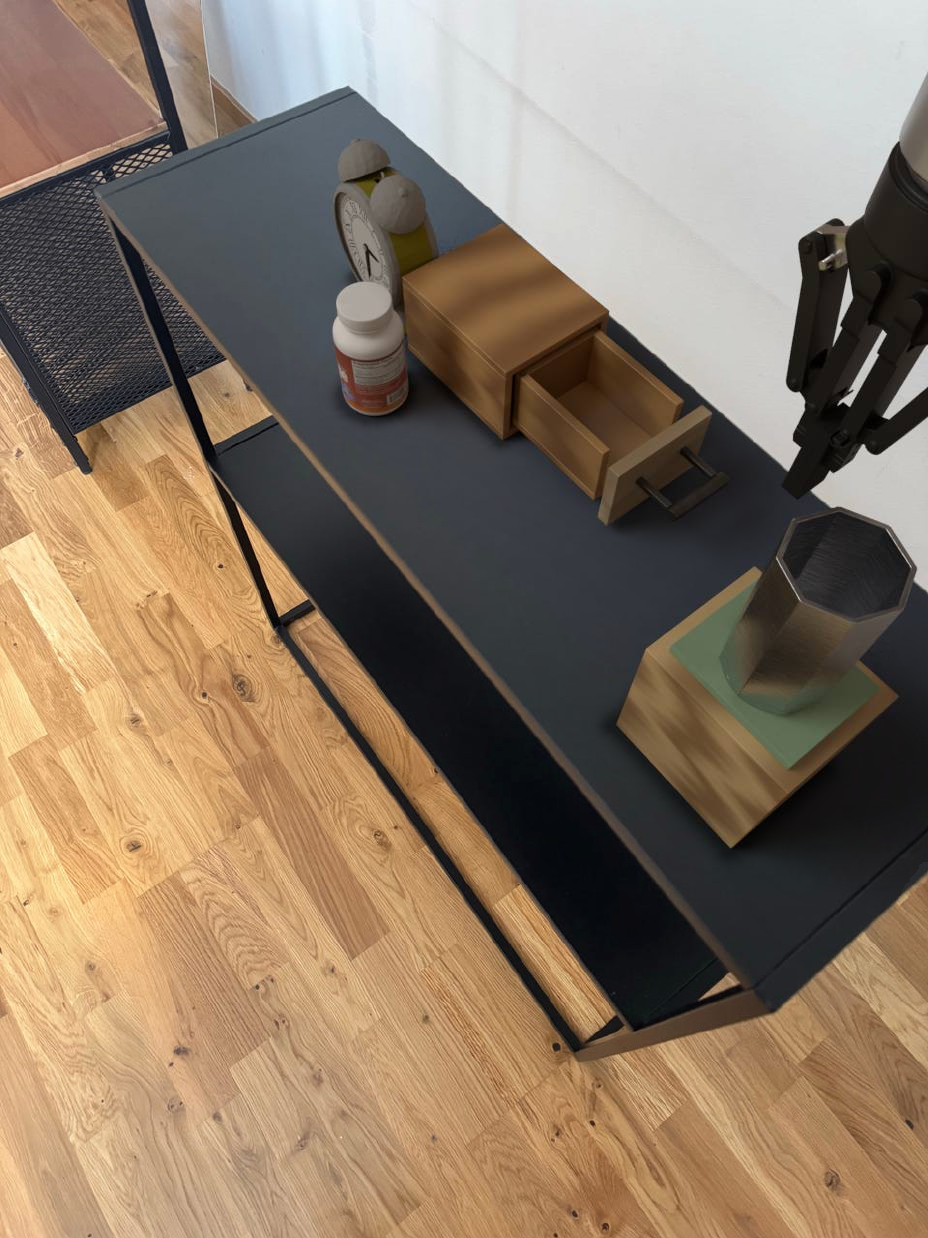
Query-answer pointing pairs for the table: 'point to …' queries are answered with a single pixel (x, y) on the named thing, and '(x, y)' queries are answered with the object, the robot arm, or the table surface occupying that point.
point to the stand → (721, 736)
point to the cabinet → (492, 319)
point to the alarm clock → (381, 220)
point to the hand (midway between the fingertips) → (802, 482)
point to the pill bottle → (370, 349)
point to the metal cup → (816, 609)
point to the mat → (775, 732)
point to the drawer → (612, 426)
